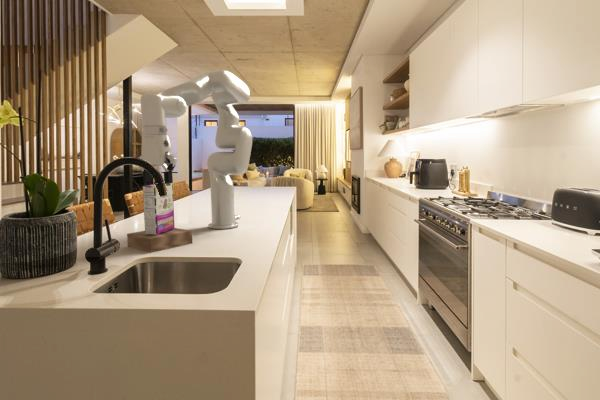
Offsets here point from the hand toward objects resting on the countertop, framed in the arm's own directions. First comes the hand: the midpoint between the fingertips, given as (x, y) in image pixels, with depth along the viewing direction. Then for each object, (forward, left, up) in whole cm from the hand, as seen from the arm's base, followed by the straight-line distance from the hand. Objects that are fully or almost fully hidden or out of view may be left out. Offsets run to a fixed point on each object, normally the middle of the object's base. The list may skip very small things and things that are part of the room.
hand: (158, 183), depth 140 cm
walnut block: (0, 0, -22) cm, 22 cm away
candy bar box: (0, 0, -17) cm, 17 cm away
